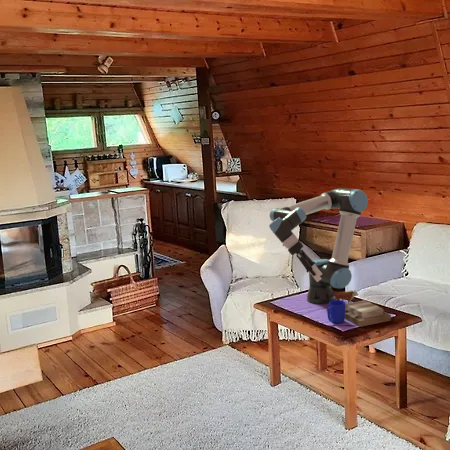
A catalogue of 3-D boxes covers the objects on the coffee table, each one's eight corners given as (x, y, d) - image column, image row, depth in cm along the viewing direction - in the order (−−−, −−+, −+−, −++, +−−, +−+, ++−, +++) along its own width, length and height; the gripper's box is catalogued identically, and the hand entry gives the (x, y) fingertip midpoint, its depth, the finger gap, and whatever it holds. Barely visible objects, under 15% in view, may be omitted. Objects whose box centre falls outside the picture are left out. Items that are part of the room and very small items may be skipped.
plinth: (338, 315, 294) (337, 303, 293) (367, 309, 300) (367, 298, 299) (359, 326, 275) (359, 315, 274) (390, 320, 281) (390, 308, 280)
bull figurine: (358, 305, 306) (358, 291, 305) (333, 305, 309) (333, 291, 308) (358, 302, 311) (358, 288, 309) (333, 302, 314) (333, 288, 312)
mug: (321, 324, 282) (320, 305, 280) (335, 317, 290) (335, 299, 288) (335, 327, 276) (334, 308, 274) (349, 320, 284) (348, 301, 282)
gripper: (289, 246, 296) (315, 278, 295) (284, 252, 272) (312, 287, 271) (300, 237, 295) (326, 269, 293) (296, 243, 270) (325, 277, 269)
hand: (320, 278), depth 282 cm, fingers open, 13 cm apart
